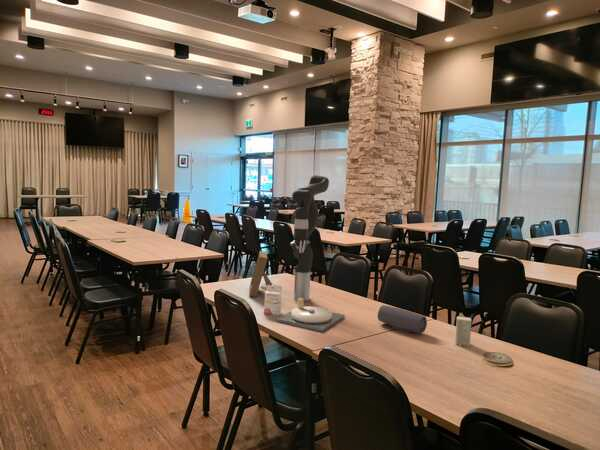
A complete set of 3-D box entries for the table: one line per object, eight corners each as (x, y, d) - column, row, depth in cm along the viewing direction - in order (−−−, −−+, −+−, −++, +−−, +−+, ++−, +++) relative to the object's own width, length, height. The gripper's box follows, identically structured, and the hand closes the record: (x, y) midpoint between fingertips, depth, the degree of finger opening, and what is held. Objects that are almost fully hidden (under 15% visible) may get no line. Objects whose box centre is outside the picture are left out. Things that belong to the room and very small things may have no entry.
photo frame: (249, 297, 252) (250, 256, 249) (249, 288, 273) (251, 250, 271) (273, 297, 253) (275, 257, 251) (272, 288, 275) (274, 251, 272)
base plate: (301, 308, 233) (301, 304, 233) (344, 317, 220) (344, 313, 220) (276, 321, 210) (276, 317, 210) (322, 332, 198) (322, 327, 198)
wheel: (285, 311, 222) (286, 298, 221) (322, 308, 229) (323, 296, 228) (298, 324, 202) (299, 310, 201) (338, 321, 209) (339, 307, 208)
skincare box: (469, 343, 191) (471, 317, 190) (469, 347, 187) (472, 320, 186) (454, 341, 193) (456, 315, 192) (454, 344, 189) (457, 318, 188)
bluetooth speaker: (426, 333, 202) (428, 313, 201) (417, 338, 196) (419, 317, 195) (386, 321, 218) (387, 302, 217) (376, 325, 211) (377, 306, 210)
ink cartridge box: (263, 314, 221) (264, 287, 220) (265, 311, 226) (266, 284, 225) (279, 315, 221) (280, 288, 219) (281, 312, 226) (282, 285, 224)
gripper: (306, 226, 229) (305, 257, 231) (286, 227, 222) (285, 259, 224) (315, 227, 223) (313, 259, 225) (295, 228, 216) (293, 261, 217)
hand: (299, 259), depth 224 cm, fingers closed
